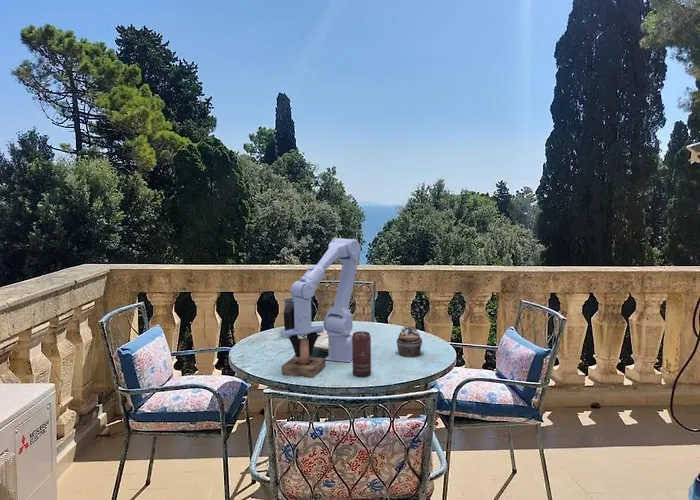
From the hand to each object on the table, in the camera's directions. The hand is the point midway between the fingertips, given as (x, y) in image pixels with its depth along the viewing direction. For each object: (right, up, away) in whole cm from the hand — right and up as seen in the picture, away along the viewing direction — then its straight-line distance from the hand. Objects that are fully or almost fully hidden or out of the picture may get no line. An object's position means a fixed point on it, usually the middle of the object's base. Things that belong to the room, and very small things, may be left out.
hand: (303, 355), depth 178 cm
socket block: (0, -5, +1) cm, 5 cm away
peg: (0, -2, 0) cm, 2 cm away
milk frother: (-5, -1, +47) cm, 47 cm away
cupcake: (+38, -3, +18) cm, 42 cm away
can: (+20, -6, -3) cm, 21 cm away
